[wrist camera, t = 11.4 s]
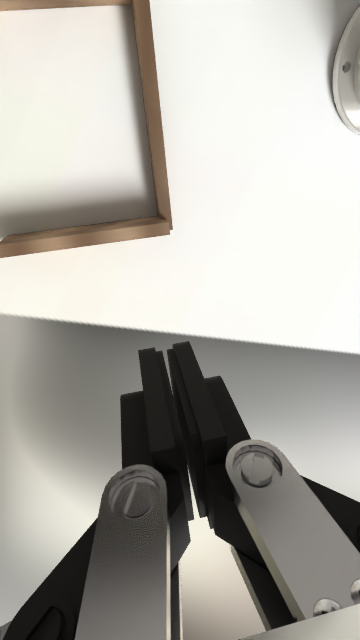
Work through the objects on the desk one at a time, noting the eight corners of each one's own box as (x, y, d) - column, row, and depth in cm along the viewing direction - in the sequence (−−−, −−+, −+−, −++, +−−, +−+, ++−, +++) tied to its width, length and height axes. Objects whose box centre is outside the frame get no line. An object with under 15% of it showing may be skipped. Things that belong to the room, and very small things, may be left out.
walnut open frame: (144, -17, 26) (148, -44, 22) (169, 225, 35) (175, 233, 31) (-78, -7, 24) (-111, -35, 20) (12, 247, 33) (0, 258, 29)
